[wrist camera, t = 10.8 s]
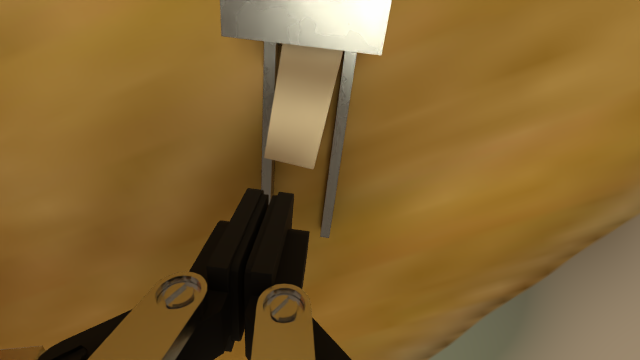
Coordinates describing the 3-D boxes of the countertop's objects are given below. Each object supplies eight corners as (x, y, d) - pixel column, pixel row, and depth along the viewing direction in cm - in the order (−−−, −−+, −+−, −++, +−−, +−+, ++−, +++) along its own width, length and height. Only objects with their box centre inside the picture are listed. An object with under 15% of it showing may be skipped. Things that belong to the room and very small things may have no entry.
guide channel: (329, 227, 30) (329, 237, 29) (264, 220, 30) (260, 229, 29) (357, 41, 22) (358, 42, 21) (268, 30, 22) (264, 31, 21)
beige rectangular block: (318, 143, 26) (313, 169, 22) (277, 133, 26) (264, 157, 22) (358, -23, 21) (363, -33, 16) (307, -38, 20) (297, -51, 16)
